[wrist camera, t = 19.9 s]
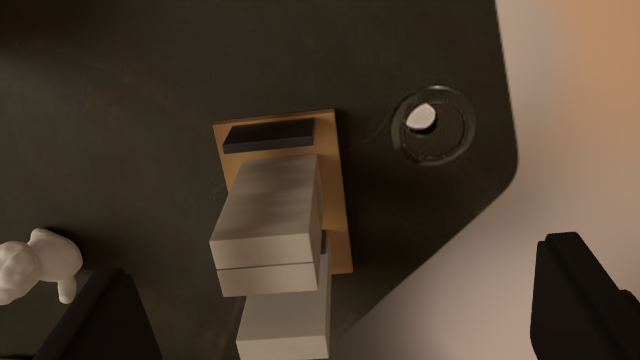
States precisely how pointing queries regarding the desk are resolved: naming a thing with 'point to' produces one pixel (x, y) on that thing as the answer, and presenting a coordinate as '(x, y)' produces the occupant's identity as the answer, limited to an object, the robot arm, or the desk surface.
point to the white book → (288, 322)
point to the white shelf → (280, 203)
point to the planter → (10, 359)
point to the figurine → (38, 265)
